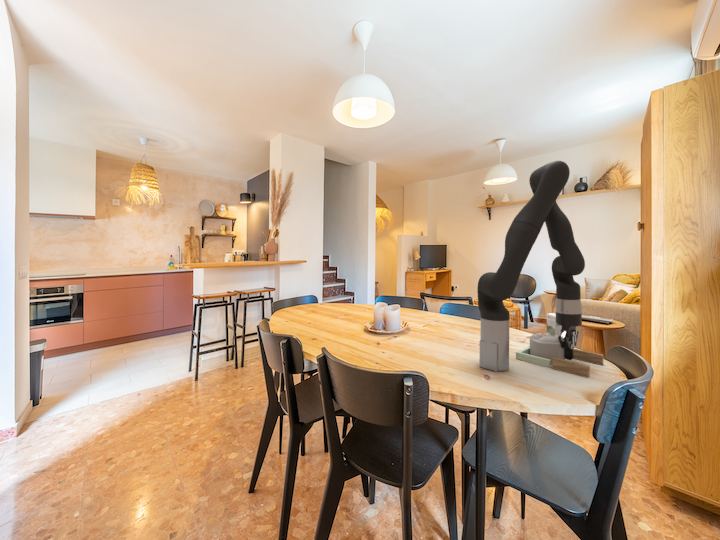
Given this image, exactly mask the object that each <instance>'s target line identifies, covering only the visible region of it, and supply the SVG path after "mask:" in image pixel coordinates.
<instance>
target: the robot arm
mask: <svg viewBox="0 0 720 540" xmlns="http://www.w3.org/2000/svg"><path fill="white" fill-rule="evenodd" d="M570 172H571V171H570V168H569V166H568V164H567V162H565V161H562V160H555V161H551V162H549V163H546V164H544V165H542V166H541V167H538V168H537V169H535V170H533V172H531V174H530V176H529V179H528V181H529V186H530V189H531V192H532V194H533V195H532V197H531V198H529V199H530V200H528V201H527V203H525V205H524V206H523V207H522V208H521V209H520V211H519V212H518V213H517V214H516V215H515V217H514V219H513V220H512V222H511V223H510V226H509V228H508V230H507V232H506V235H505V238H504V239H505V240H504V255H503V258H502V261H501V263H500V265H499V266H498V269H497V270H496V272H492V271H491V272H485V273H483V274H482V275H481V276H480V277H479V279H478V283H477V306H478V310H479V313H480V334H479V335H480V336H479V337H480V339H479V367H481V368H483V369H486V370H490V371H493V372H495V373H497V372H504V371H508V370H509V369H510V312H509V311H510V310H508V308H507V307H505V305H504V302H503V301H505V300H506V301H507V299H509V298H510V297H511V296H512V295H513V293H514V292H515V290H516V287H517V284H518V282H519V279H520V276H521V273H522V270H523V268H524V266H525V263H526V261H527V258H528V257H529V255H530V253H531V251H532V248H533V246H534V244H535V243H536V240H537V238H538V237H539V235H540V233H541V230H542V229H543V226H544V224H545V226H546V230H547V234H548V239H549V243H550V247H551V248H552V249H553V250H554V251H557V252H558V256H556V257H555V258H554V259H553V261H552V262H551V273H552V276H553V280H554V281H553V282H554V284H555V287H556V288H555V294H556V295H555V297H556V299H555V313H556V323H557V324H559V325H561V326H562V329H561V330H560V334H561V336H558V339H559V342H560V344H561V347H562V348H564V349H565V360H567V361H572V360H574V359H573V349H575V347H576V346H577V343H578V337H579V333H580V332H579V330H577V327H580V326H582V325H583V323H582V322H583V320H582V319H583V316H582V315H583V313H582V301H581V297H582V295H581V285H580V283H578V282H577V281H575V279H574V276H575V277H576V276H578V275H580V274H582V273H583V272H584V270H585V267H586V261H585V257H584V255H583V254H582V252H581V250H580V248H579V246H578V244H577V243H576V241H575V235H574V231H573V228H572V224H571V222H570V219H569V218H568V216H567V215H566V214H565V213H564V212H563V210H562V209H561V208H560V206H559V205H558V203H557V199H558V197H559V196H560V194H561V193H562V191H563V190H564V188H565V187H566V185H567V183H568V181H569V179H570Z"/></svg>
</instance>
